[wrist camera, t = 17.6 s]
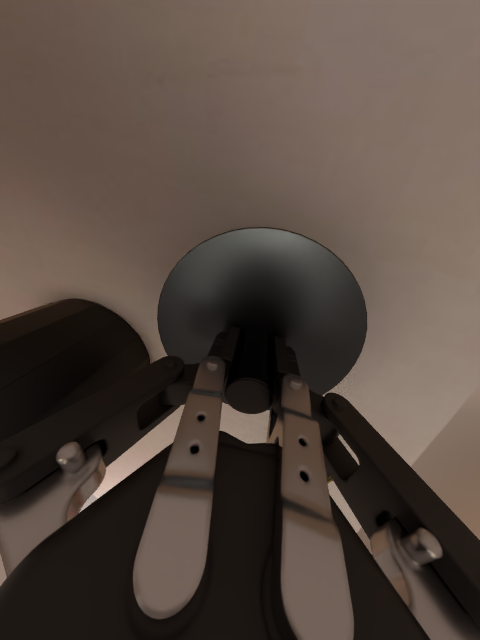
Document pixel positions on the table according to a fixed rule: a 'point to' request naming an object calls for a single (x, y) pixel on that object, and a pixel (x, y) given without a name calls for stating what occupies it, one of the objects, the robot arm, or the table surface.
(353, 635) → the robot arm
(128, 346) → the waste tin
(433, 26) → the table surface
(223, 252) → the lid
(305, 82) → the table surface
